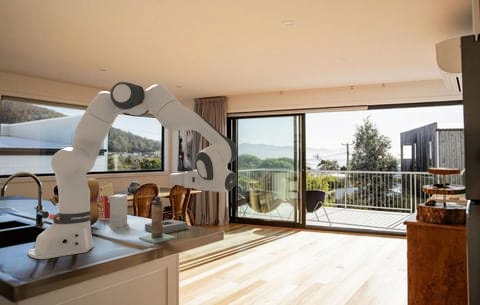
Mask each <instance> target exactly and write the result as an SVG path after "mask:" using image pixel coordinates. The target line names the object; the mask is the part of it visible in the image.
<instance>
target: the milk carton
mask: <svg viewBox="0 0 480 305" xmlns="http://www.w3.org/2000/svg"><path fill="white" fill-rule="evenodd" d="M113 195H115V191H114V188H113V183H112V182H111V183H108V184H106V185H101V186H100V185H99V195H98V197H99V198H98V209H99V218H98V220H101V221H107V220H109V221H110V196H113Z"/></svg>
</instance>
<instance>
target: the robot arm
mask: <svg viewBox="0 0 480 305" xmlns="http://www.w3.org/2000/svg"><path fill="white" fill-rule="evenodd" d="M149 112H150V113H151V114H152V115H153V117H154V118H155V119H156V120H157V122H159V124H160V125H161V126H162V127H163V128H165V129H167V130H169V131H175V132H177V131H184V130H185V131H187V130H190V131H194V132H197V133H199V134H200V135H201V136H202V137H204V139H205V140H206V141H208V143H210V144H211V145H209V146H207V147H205V148H203V149H202V150H200V151H198V152H197V153H196V156H195V158H194V161H195V162H194V164H195V169H193V170H187V171H184V172H179V173H178V172H177V173H170V174H169V183H170V184H171V185H176V186H181V187H183V188H186V189H193V190H198V191H206V192H207V191H208V192H209V191H211V192H214V193H227V192H230V191H232V189H233V188H234V187H235V186H236V185H237V184H236V183H237V174H235V172H234V171H231V170H230V169H228V168H227V166H226V165H228V164H230V163H232V162H234V161H235V160H236V159H237V156H238V148H237V146H236V144H235V142H234V141H233V140H231V138H229V137H227V136H225V135H224V134H223V133H221V132H220V131H219V130H218V129H217V128H216V127H215V126H214V125H212V123H210V122H209V121H208V119H206V118H204V116H202V115H201V114H199V112H197V111H195V110H194V111H193V110H191V109H189V108H187V106H184V105H183V103H181V102H180V101H179V99H177V97H176V96H175V95H174V94H172V93H171V92H170V91H169V90H168V89H167V88H166V87H164V86H163V85H160V84H154V85H152V86H150V87H148V88H147V89H144V87H143V86H141V85H139V84H137V83H132V82H130V81H124V80H123V81H119V82H116V83H115V84H114V85H113V86H112V87H111V90H110V91H100V92H99V93H97V94H96V96H95V97H94V98H93V99H92V100H91V102H89V105H88V106H87V108H86V109H85V111H84V112H83V114H82V117H81V118H80V120H79V122H78V124H77V126H76V127H75V131H74V137H73V139H72V142H71V145H70V147H64V148H62V149H59V150H58V151H57V152H55V153H54V154H53V155H52V157H51V160H50V165H51V168H52V170H53V172H54V176H55V181H56V185H57V190H58V212H57V213H56V214H54V213H50V214H48V219H49V220H52V221H53V223H52V224H50V225H49V226H48V227H47V228H46V229H45V230H43V231H42V232H41V233H40V234H38V235H37V237H36V239H35V245H34V248H31V249H29V250H28V251H27V252H28V253H27V255H28V256H29V257H31V258H33V259H38V260H47V259H52V258H53V259H54V258H58V257H66V256H71V255H76V254H83V253H87V252H89V251H90V250H91V249H93V248H94V247H95V242H94V239H93V235H92V226H91V225H90V224H91V210H90V189H89V187H88V183H87V178H88V177H87V174H89V172H91V170H93V168H94V166H95V163H96V161H97V159H98V156H99V154H100V151H101V149H102V146H103V143H104V141H105V139H106V137H107V136H108V134H109V132H110V129H111V128H112V126H113V124H114V122H115V121H116V120H117V117H118V116H119V115H120V114H123V115H125V116H130V117H131V116H132V117H144V116H146V115H147V114H149Z"/></svg>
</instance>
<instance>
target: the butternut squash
mask: <svg viewBox="0 0 480 305" xmlns="http://www.w3.org/2000/svg"><path fill="white" fill-rule="evenodd" d="M87 183H88V187H89V189H90V210H91V224H90V225H92V226H93V225H95V224H96V223H97V222H98V220H99V209H98V207H99V205H98V199H99V198H98V197H99V194H100V183H99V181H98V179H97V178H94V177H87Z"/></svg>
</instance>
